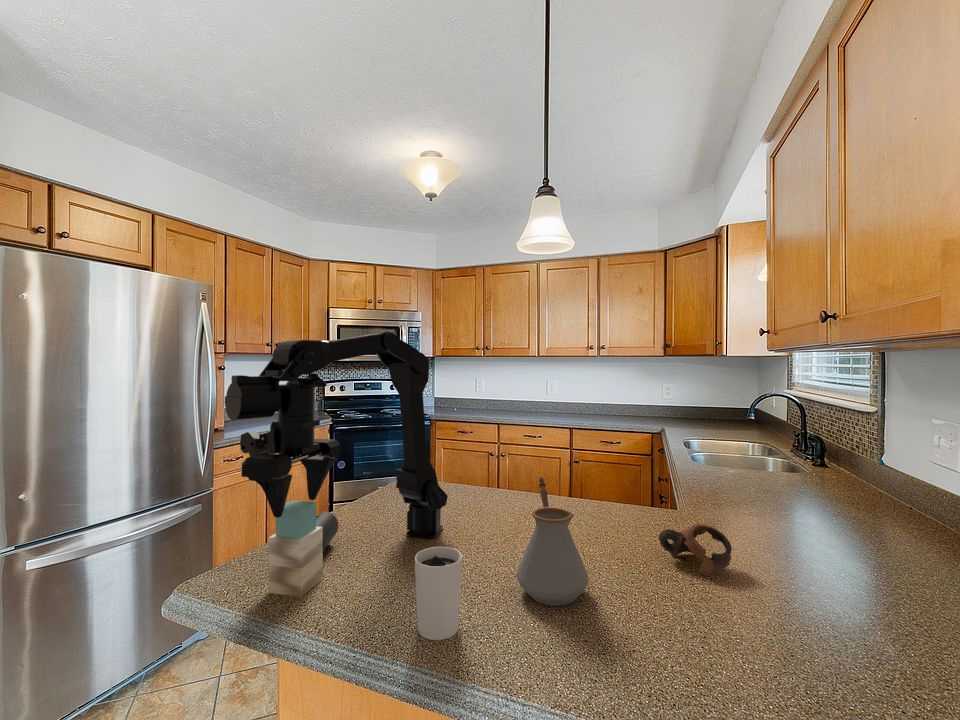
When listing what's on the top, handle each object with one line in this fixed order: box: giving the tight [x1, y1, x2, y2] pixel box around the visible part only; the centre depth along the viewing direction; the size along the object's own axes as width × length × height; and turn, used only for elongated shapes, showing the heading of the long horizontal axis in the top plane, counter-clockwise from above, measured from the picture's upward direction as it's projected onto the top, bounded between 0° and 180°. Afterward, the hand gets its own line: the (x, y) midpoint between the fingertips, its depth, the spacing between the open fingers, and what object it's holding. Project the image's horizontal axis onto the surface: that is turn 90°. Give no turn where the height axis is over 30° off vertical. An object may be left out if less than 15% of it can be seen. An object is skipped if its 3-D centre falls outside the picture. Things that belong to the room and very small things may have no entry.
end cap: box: [316, 510, 339, 552], centre depth 87 cm, size 10×7×7 cm
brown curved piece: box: [658, 523, 733, 577], centre depth 82 cm, size 12×10×8 cm
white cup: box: [414, 546, 463, 641], centre depth 63 cm, size 7×7×10 cm
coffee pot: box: [516, 476, 589, 606], centre depth 77 cm, size 21×12×15 cm, turn 179°
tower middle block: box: [268, 527, 324, 569], centre depth 75 cm, size 6×6×4 cm
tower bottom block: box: [268, 553, 324, 598], centre depth 75 cm, size 6×6×4 cm
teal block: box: [275, 499, 317, 538], centre depth 75 cm, size 4×4×4 cm
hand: (295, 507), depth 75 cm, fingers open, 9 cm apart
